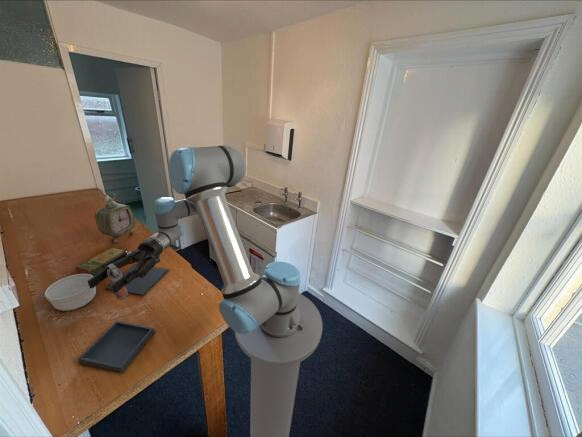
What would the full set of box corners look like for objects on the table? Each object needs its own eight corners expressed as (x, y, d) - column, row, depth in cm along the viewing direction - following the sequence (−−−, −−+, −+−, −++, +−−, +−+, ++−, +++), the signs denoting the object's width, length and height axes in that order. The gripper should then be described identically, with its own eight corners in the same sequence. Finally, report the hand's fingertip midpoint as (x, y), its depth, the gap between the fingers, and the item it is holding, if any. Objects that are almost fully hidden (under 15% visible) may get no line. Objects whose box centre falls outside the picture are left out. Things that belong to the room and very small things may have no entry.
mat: (168, 270, 104) (168, 269, 104) (142, 295, 90) (142, 294, 90) (135, 264, 106) (135, 264, 105) (105, 288, 91) (105, 288, 91)
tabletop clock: (115, 245, 118) (101, 199, 107) (100, 242, 119) (85, 196, 109) (137, 232, 131) (127, 190, 120) (123, 229, 132) (112, 187, 122)
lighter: (110, 288, 77) (102, 263, 72) (122, 283, 79) (115, 259, 75) (117, 301, 72) (109, 276, 68) (130, 296, 74) (123, 271, 70)
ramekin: (78, 284, 92) (73, 270, 89) (108, 290, 91) (103, 276, 88) (41, 310, 80) (33, 295, 77) (74, 317, 79) (67, 302, 76)
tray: (154, 332, 76) (153, 327, 75) (122, 372, 64) (120, 368, 64) (117, 324, 78) (116, 320, 77) (80, 363, 66) (77, 358, 65)
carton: (127, 258, 109) (125, 250, 108) (92, 279, 95) (89, 271, 94) (113, 254, 111) (111, 246, 109) (77, 274, 97) (74, 266, 95)
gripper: (179, 258, 90) (135, 302, 69) (132, 250, 92) (75, 291, 71) (177, 241, 86) (130, 282, 66) (127, 234, 88) (67, 271, 68)
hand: (101, 286), depth 68 cm, fingers closed on lighter, 7 cm apart
